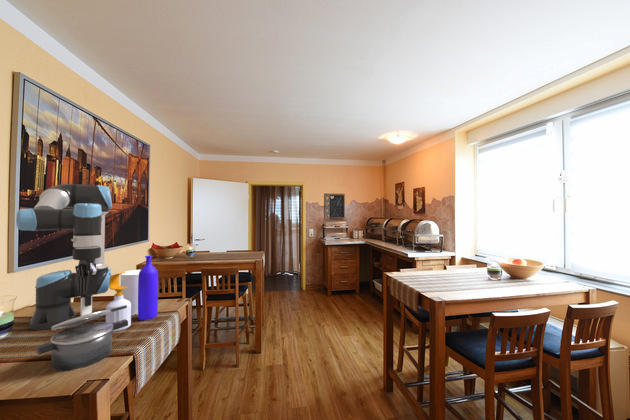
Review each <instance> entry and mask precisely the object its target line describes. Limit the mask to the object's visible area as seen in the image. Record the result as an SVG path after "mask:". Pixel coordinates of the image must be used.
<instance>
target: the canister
mask: <svg viewBox="0 0 630 420" xmlns="http://www.w3.org/2000/svg"><path fill="white" fill-rule="evenodd" d="M141 269H142V268H141ZM141 269H132V270H126V271H125V272H126V273H123V274H120V286H124V287H126V288H124V289H123V290H122V291H121V293H123V298H124V299H126V300H128V301H130V303H131V316H134V315H135V314H136V315H138V278H139V272H140V271H141Z"/></svg>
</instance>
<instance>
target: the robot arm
mask: <svg viewBox="0 0 630 420" xmlns="http://www.w3.org/2000/svg"><path fill="white" fill-rule="evenodd" d="M39 195H40V196H39V199H38V200H39V201H38V202H37V203H36V205H34V207H33V208H20V209H18V211H17V213H16V217H15V219H16V220H15V221H16V227H17V229H18V230H20V231H31V232H35V231H36V232H37V231H58V230H59V231H60V230H62V231H63V230H72V231H73V233H72V235H73V236H72V238H71V239H70V241H71V242H72V247H73V249H72V259H73V260H75V261H78V265H75V267H74V269H75V272H72V270H71V269H66V270H65V269H64V270H63V269H62V270H58V271H53V272H49V273H45V274H41V275H40V276H38V277H37V278H36V282H35V287H34V289H35V308H34V309H35V310H34V312H33V315H32V317H31V318H30V321H29V327H28V329H29V330H32V331H42V330H43V331H44V330H49V329H51V327H52V326H54V325H56V324H59V323H61V322H64V321H67V319H69V318H73V317H77V316H76V311H75V310H74V308H73V305H72V299H74V298H80V313H79V314H80V315H79V316H83V315H87V314H90V313H92V312H93V296H94V295H96V296H97V295H99V294H101V295H102V294H105V293H107V292H108V290H109V289H110V287H109V280H110V276H112V269H111V268H109V265H107V264H106V263H105V240H106V239H105V235H106V232H105V231H106V226H105V225H106V215H107V214H109V213H110V211H109V210H112V209H113V203H112V195H111V189H110V187H108V186H107V185H98V184H79V183H77V184H76V183H64V184H57V185H54V186H51V187H48V188H46V189H45V190H43V191H42V192H41V193H40V194H39Z"/></svg>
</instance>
